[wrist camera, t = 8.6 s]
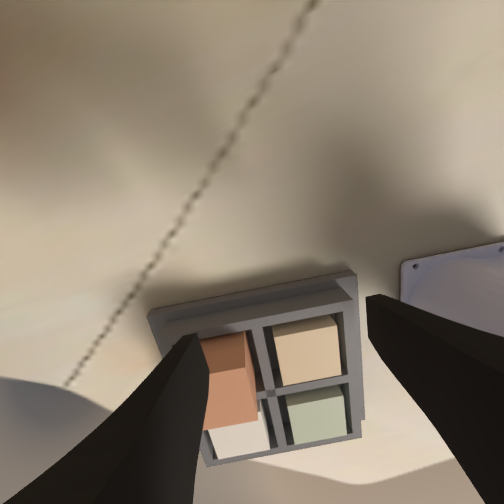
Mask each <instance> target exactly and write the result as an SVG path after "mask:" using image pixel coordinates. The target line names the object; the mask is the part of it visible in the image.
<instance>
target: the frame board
mask: <svg viewBox="0 0 504 504" xmlns="http://www.w3.org/2000/svg"><path fill="white" fill-rule="evenodd" d="M147 319H148V322H149V324H150V327H151V329H152V332H153V335H154V337H155V340H156V342H157V345H158V348H159V350H160V353H161V355H162V358H164V357H165V356H166V355H167V353H168V352H169V351H170V350H171V349H172V347H173V346H174V345H175V344H176V343H177V341H178V340H179V339H180V338H181V337H182V336H183V335H188V334H193V333H197V334H198V337H199V339H204V338H209V337H214V336H219V335H224V334H229V333H235V332H240V331H245V330H246V332H247V336H248V341H249V345H250V350H251V354H252V358H253V363H254V373H255V386H256V399H257V411H258V421H253V422H247V423H242V424H236V425H231V426H226V427H220V428H215V429H209V430H204V431H202V436H201V442H200V448H199V451H201V454H202V456H203V459H204V462H205V464H206V467H210V466H215V465H221V464H226V463H231V462H236V461H241V460H247V459H252V458H257V457H263V456H268V455H273V454H278V453H284V452H289V451H294V450H299V449H305V448H310V447H315V446H320V445H326V444H331V443H336V442H341V441H347V440H352V439H357V438H362V431H361V420H365V408H364V390H363V372H362V354H361V336H360V318H359V300H358V282H357V274H355V273H354V272H353V271H352V270H350V271H345V272H340V273H335V274H330V275H324V276H319V277H314V278H309V279H304V280H299V281H294V282H289V283H284V284H279V285H274V286H269V287H264V288H259V289H253V290H248V291H243V292H238V293H233V294H228V295H223V296H218V297H213V298H208V299H203V300H198V301H193V302H188V303H182V304H177V305H172V306H167V307H162V308H157V309H152V310H150V312H149V313H148V315H147Z"/></svg>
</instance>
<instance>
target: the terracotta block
mask: <svg viewBox="0 0 504 504" xmlns="http://www.w3.org/2000/svg"><path fill="white" fill-rule="evenodd" d="M199 340H200V343H201V346H202V349H203V352H204V355H205V358H206V361H207V364H208V367H209V370H210V375H209V394H208V401H207V407H206V413H205V419H204V425H203V431H204V430H209V429H215V428H220V427H226V426H231V425H236V424H242V423H247V422H253V421H258V411H257V399H256V386H255V373H254V363H253V358H252V354H251V350H250V345H249V341H248V336H247V332H246V330H245V331H240V332H235V333H229V334H224V335H219V336H214V337H209V338H204V339H199Z"/></svg>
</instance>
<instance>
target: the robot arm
mask: <svg viewBox="0 0 504 504" xmlns="http://www.w3.org/2000/svg"><path fill="white" fill-rule="evenodd" d="M414 264H416V265H415V267H413V265H414ZM366 312H367V327H368V338H369V340H370V341H371V343H372V345H373V346H374V348H375V350H376V351H377V353H378V354H379V356H380V357H381V359H382V360H383V362H384V363H385V364H386V366H387V367H388V368H389V369H390V371H391V372H392V373H393V375H394V376H395V377H396V378H397V380H398V381H399V382H400V383H401V385H402V386H403V387H404V388H405V390H406V391H407V392H408V393H409V395H410V396H411V397H412V398H413V400H414V401H415V402H416V403H417V405H418V406H419V407H420V408H421V410H422V411H423V412H424V413H425V415H426V416H427V417H428V419H429V420H430V421H431V423H432V424H433V425H434V427H435V428H436V430H437V431H438V433H439V434H440V435H441V437H442V438H443V440H444V441H445V443H446V444H447V446H448V447H449V449H450V450H451V452H452V453H453V455H454V456H455V458H456V459H457V461H458V462H459V464H460V465H461V467H462V468H463V470H464V471H465V473H466V475H467V476H468V478H469V479H470V481H471V482H472V484H473V485H474V487H475V488H476V490H477V491H478V493H479V495H480V496H481V498H482V499H483V501H484V502H485V504H504V242H499V243H494V244H489V245H484V246H479V247H474V248H469V249H464V250H459V251H454V252H448V253H443V254H438V255H433V256H428V257H423V258H418V259H413V260H408V261H405V262H404V263H402V265H401V301H399V300H396V299H394V298H391V297H388V296H385V295H382V294H377V295H372V296H368V297H366ZM209 375H210V370H209V367H208V364H207V361H206V358H205V355H204V352H203V349H202V346H201V343H200V340H199V337H198V334H197V333H193V334H188V335H183V336H182V337H181V338H180V339H179V340H178V341H177V343H176V344H175V345H174V346H173V347H172V349H171V350H170V351H169V352H168V353H167V355H166V356H165V357H164V358H163V359H162V360H161V362H160V363H159V364H158V365H157V366H156V367H155V369H154V370H153V371H152V372H151V373H150V374H149V376H148V377H147V378H146V379H145V380H144V381H143V382H142V383H141V384H140V385H139V386H138V387H137V389H136V390H135V391H134V392H133V393H132V394H131V395H130V396H129V397H128V398H127V399H126V400H125V401H124V402H123V403H122V404H121V405H120V406H119V407H118V408H117V409H116V410H115V411H114V412H113V413H112V414H111V415H110V416H109V417H108V418H107V419H106V420H105V421H104V422H103V423H102V424H100V425H99V426H98V427H97V429H95V430H94V431H93V432H92V433H90V434H89V435H88V436H87V437H86V438H85V439H84V440H82V441H81V442H80V443H79V444H78V445H77V446H76V447H74V448H73V449H72V450H71V451H70V452H68V453H67V454H66V455H65V456H64V457H62V458H61V459H60V460H59V461H58V462H56V463H55V464H54V465H53V466H51V467H50V468H49V469H48V470H46V471H45V472H44V473H43V474H41V475H40V476H39V477H38V478H36V479H35V480H34V481H32V482H31V483H30V484H28V485H27V486H26V487H24V488H23V489H22V490H21V491H19V492H18V493H17V494H15V495H14V496H13V497H11V498H10V499H9V500H7V501H6V502H5V503H3V504H193V493H194V483H195V474H196V466H197V459H198V454H199V448H200V442H201V436H202V431H203V425H204V419H205V413H206V407H207V401H208V394H209Z"/></svg>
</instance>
